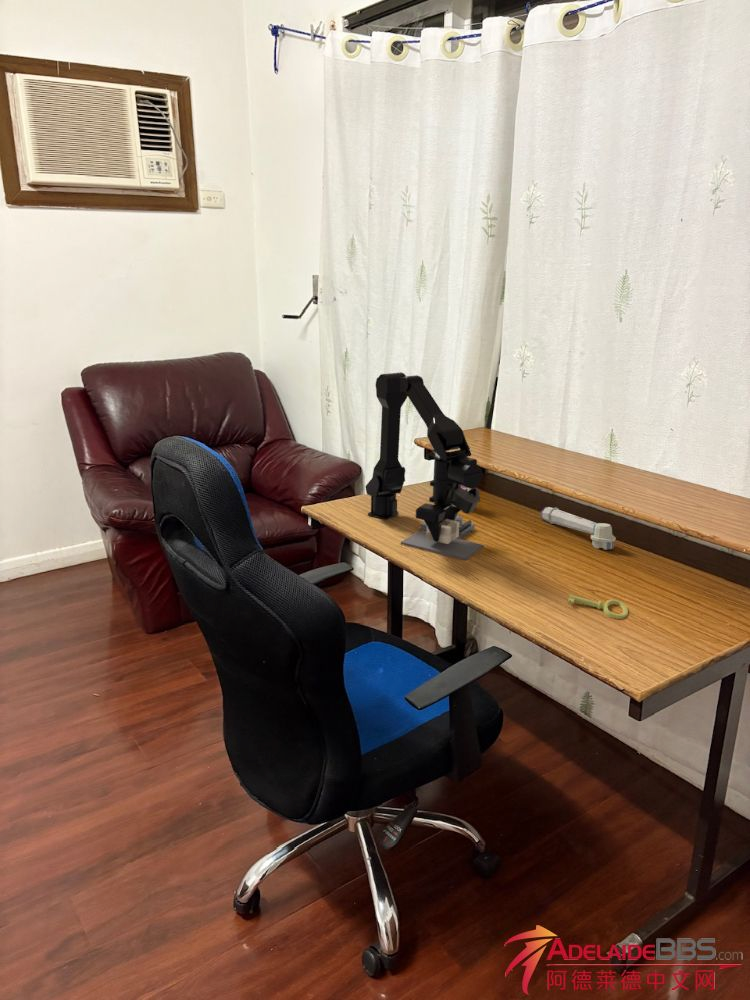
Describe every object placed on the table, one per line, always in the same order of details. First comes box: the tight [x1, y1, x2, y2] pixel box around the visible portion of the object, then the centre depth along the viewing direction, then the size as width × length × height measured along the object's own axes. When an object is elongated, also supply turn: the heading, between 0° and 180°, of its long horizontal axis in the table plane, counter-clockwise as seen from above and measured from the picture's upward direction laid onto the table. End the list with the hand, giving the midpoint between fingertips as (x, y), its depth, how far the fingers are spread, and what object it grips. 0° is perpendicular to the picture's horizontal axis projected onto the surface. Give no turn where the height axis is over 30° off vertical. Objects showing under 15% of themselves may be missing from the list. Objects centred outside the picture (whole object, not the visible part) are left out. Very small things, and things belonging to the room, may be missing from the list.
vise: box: [419, 514, 476, 540], centre depth 192 cm, size 12×8×8 cm, turn 58°
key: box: [567, 594, 629, 620], centre depth 150 cm, size 7×12×2 cm, turn 86°
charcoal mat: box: [400, 529, 484, 561], centre depth 182 cm, size 18×10×1 cm, turn 58°
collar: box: [425, 519, 459, 544], centre depth 181 cm, size 6×6×4 cm
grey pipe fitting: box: [540, 506, 617, 550], centre depth 191 cm, size 5×7×25 cm
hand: (442, 537), depth 181 cm, fingers open, 6 cm apart
